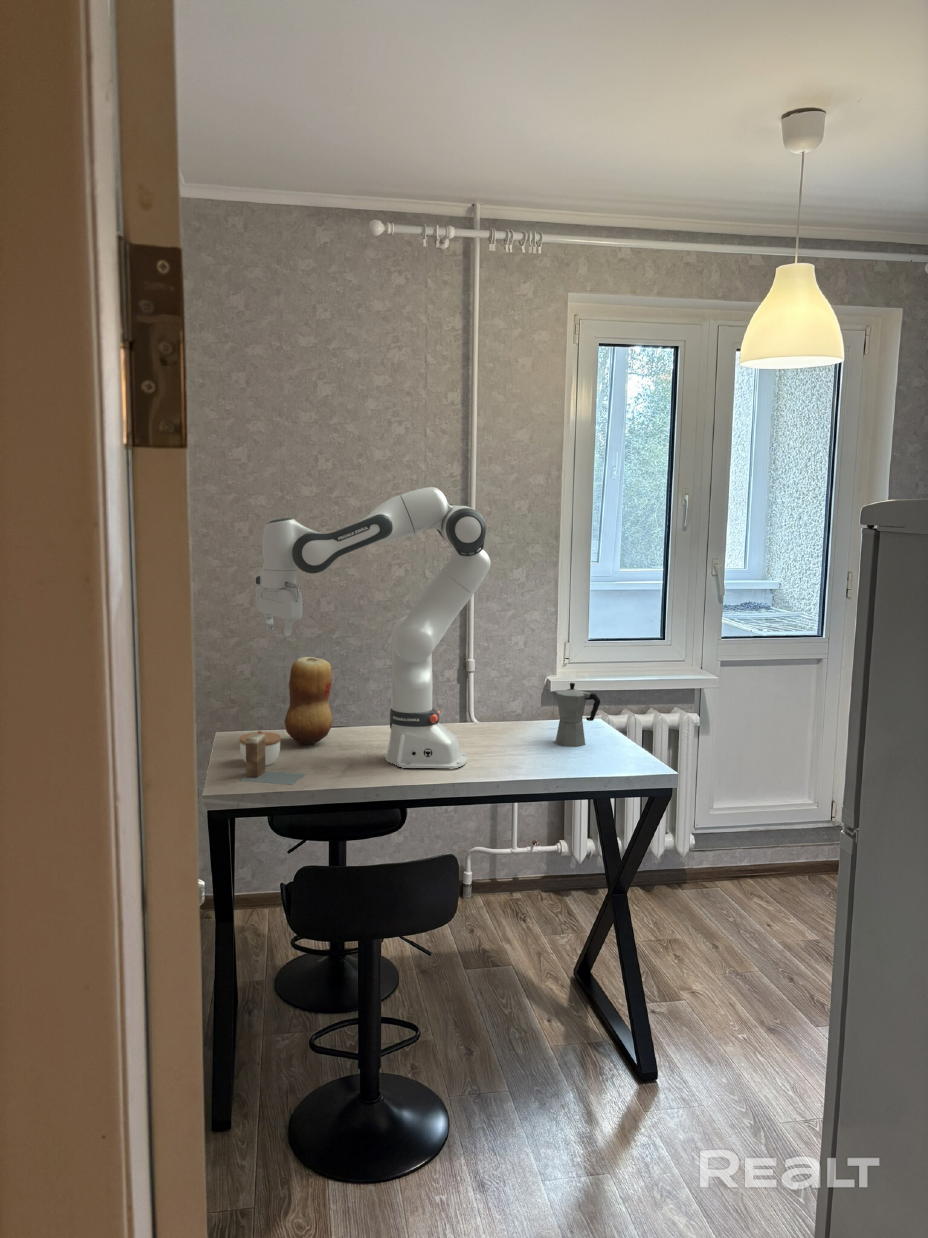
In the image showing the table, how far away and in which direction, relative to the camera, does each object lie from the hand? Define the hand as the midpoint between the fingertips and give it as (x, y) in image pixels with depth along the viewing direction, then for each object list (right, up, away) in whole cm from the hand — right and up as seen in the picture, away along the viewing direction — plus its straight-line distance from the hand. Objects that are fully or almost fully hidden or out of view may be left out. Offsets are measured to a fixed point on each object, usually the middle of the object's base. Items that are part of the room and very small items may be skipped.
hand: (278, 633), depth 244 cm
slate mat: (0, -37, -10) cm, 38 cm away
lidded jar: (-5, -35, +3) cm, 36 cm away
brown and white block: (-4, -36, -8) cm, 37 cm away
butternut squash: (+4, -33, +26) cm, 42 cm away
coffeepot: (+81, -33, +31) cm, 93 cm away
